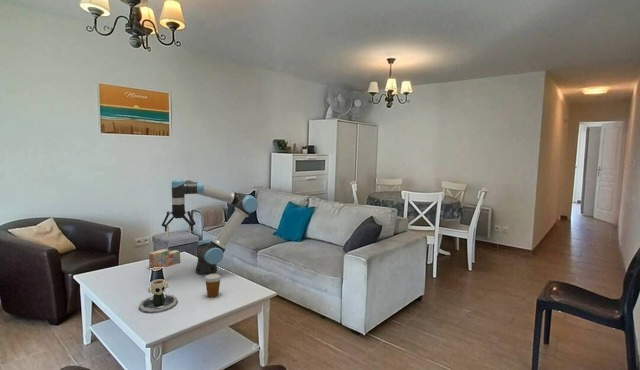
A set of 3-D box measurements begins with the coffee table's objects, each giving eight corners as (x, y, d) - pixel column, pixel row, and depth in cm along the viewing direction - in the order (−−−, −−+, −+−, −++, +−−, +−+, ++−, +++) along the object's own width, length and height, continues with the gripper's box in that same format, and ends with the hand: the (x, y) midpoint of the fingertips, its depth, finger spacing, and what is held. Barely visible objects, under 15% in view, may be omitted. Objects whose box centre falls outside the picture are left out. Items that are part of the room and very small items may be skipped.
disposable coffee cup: (224, 293, 209) (224, 274, 208) (214, 299, 200) (214, 280, 199) (211, 291, 212) (211, 272, 211) (201, 297, 203) (201, 277, 202)
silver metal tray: (180, 295, 204) (180, 293, 204) (174, 311, 185) (174, 308, 185) (143, 298, 199) (143, 295, 199) (134, 314, 180) (134, 311, 180)
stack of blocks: (175, 261, 266) (175, 246, 265) (180, 262, 263) (180, 247, 262) (149, 268, 249) (148, 252, 247) (154, 270, 245) (153, 254, 244)
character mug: (151, 308, 186) (150, 286, 185) (146, 304, 191) (145, 282, 189) (171, 302, 194) (170, 280, 193) (165, 298, 199) (165, 277, 197)
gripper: (199, 202, 224) (199, 234, 226) (158, 203, 218) (159, 235, 220) (198, 204, 217) (198, 236, 219) (155, 205, 211) (156, 238, 213)
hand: (179, 236), depth 220 cm, fingers open, 13 cm apart
